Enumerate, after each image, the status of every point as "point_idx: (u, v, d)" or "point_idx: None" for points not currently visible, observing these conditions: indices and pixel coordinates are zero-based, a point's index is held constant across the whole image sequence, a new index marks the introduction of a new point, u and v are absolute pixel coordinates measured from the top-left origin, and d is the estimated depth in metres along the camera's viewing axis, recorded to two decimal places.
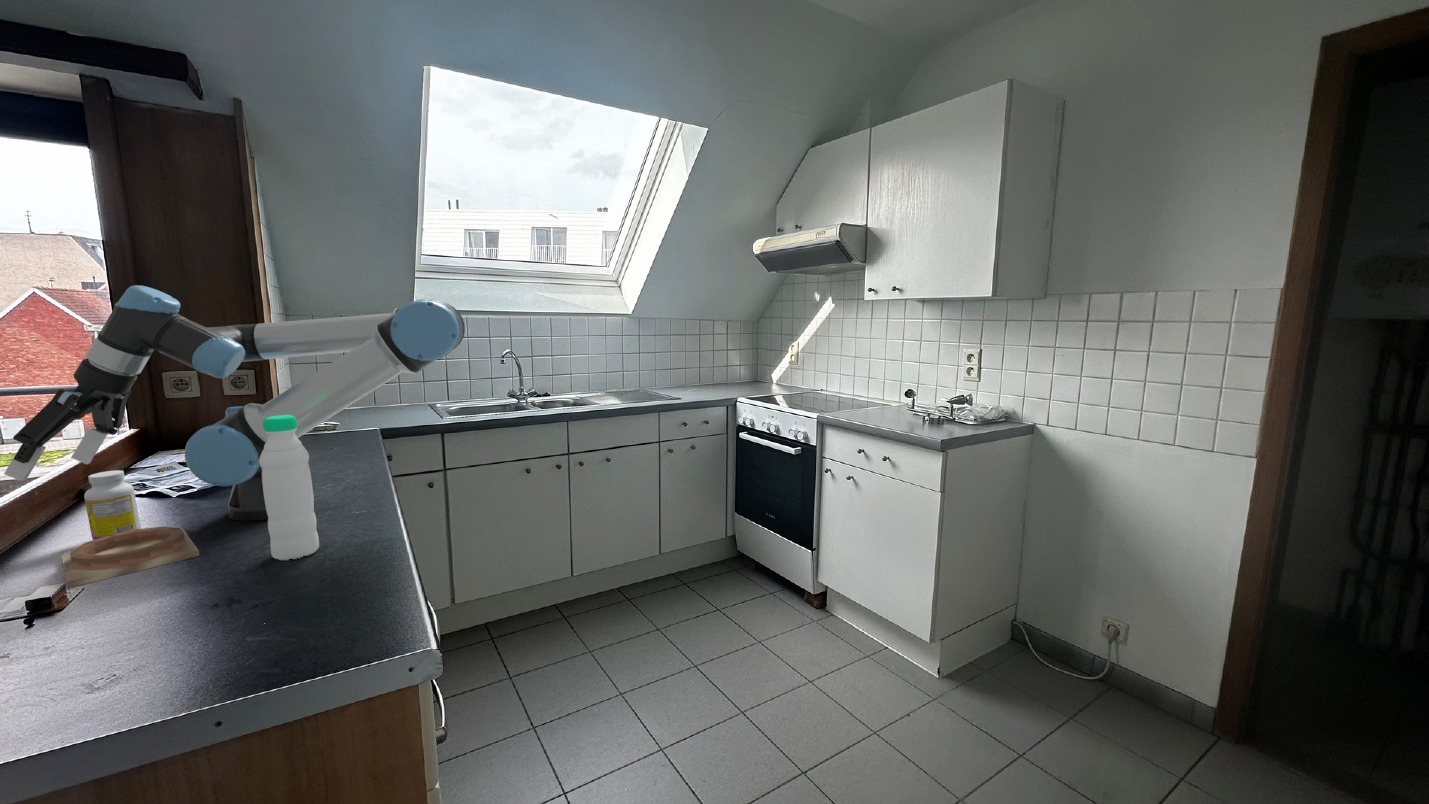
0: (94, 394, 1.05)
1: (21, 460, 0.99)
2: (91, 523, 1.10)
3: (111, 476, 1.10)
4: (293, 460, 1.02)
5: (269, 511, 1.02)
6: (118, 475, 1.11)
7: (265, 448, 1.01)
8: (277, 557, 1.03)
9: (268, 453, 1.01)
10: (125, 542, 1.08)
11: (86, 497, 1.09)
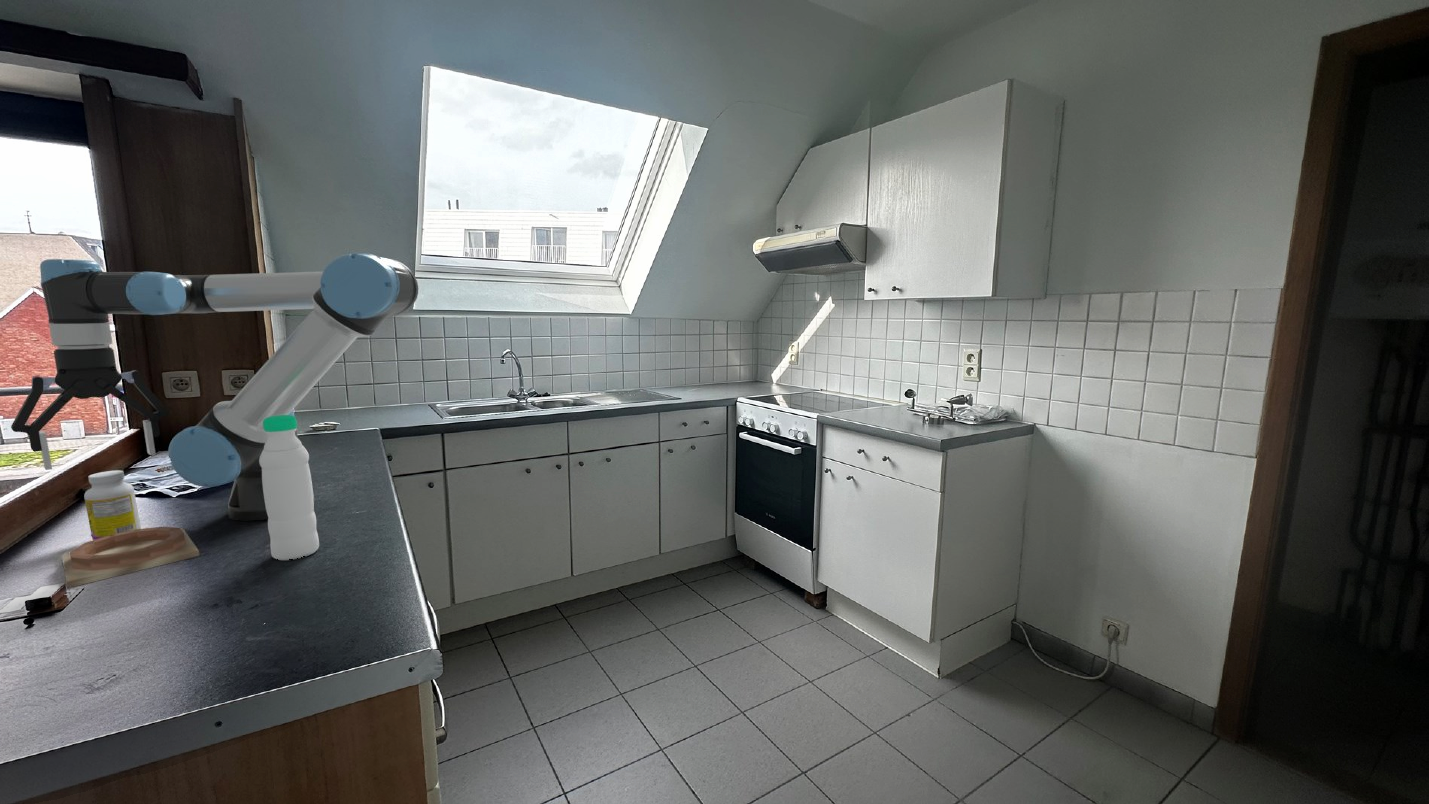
0: (71, 375, 1.06)
1: None
2: (91, 523, 1.10)
3: (111, 476, 1.10)
4: (293, 460, 1.02)
5: (269, 511, 1.02)
6: (118, 475, 1.11)
7: (265, 448, 1.01)
8: (277, 557, 1.03)
9: (268, 453, 1.01)
10: (125, 542, 1.08)
11: (86, 497, 1.09)
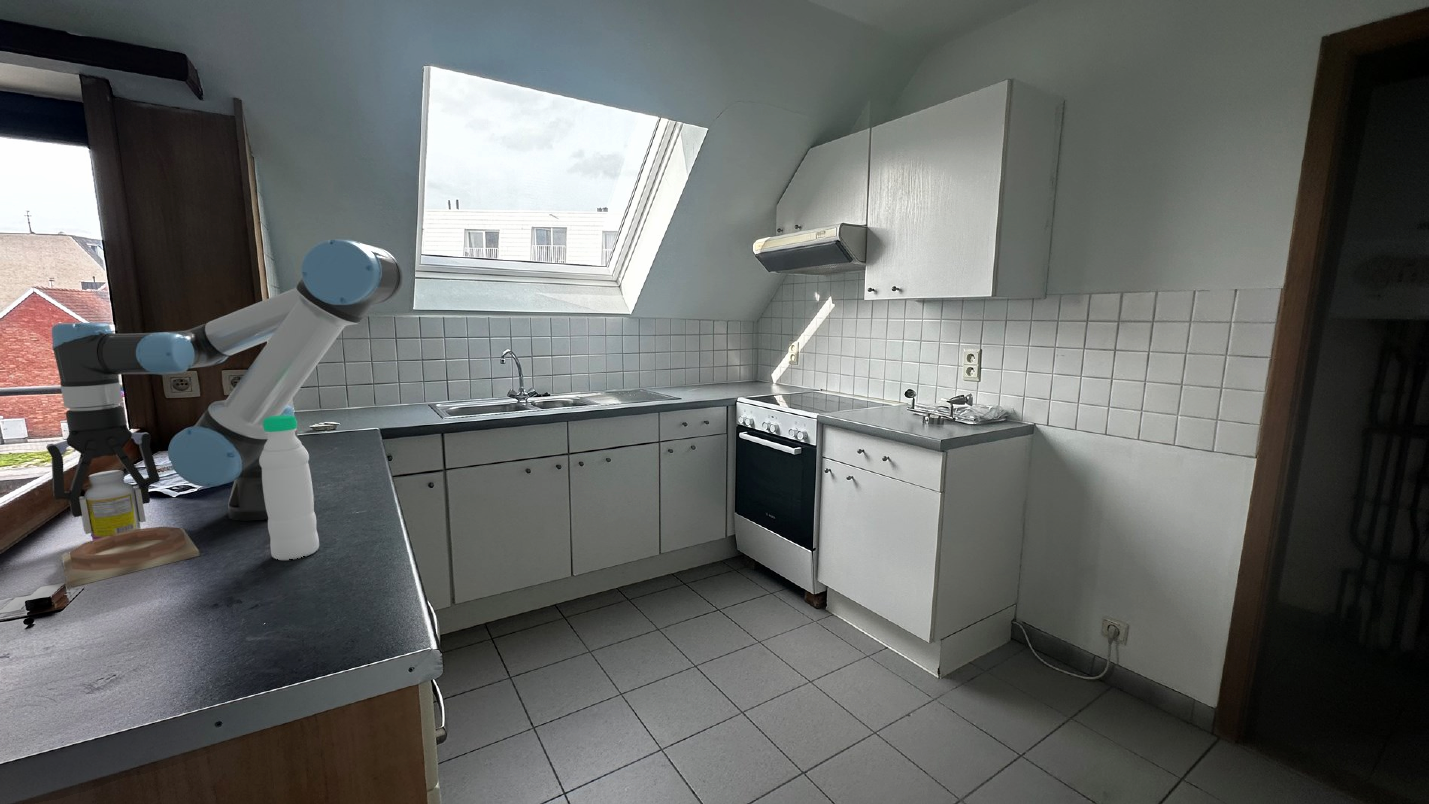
0: (80, 435, 1.08)
1: (72, 514, 1.08)
2: (91, 523, 1.10)
3: (111, 476, 1.11)
4: (293, 460, 1.02)
5: (269, 511, 1.02)
6: (118, 475, 1.12)
7: (265, 448, 1.01)
8: (277, 557, 1.03)
9: (268, 453, 1.01)
10: (125, 542, 1.08)
11: (86, 497, 1.09)
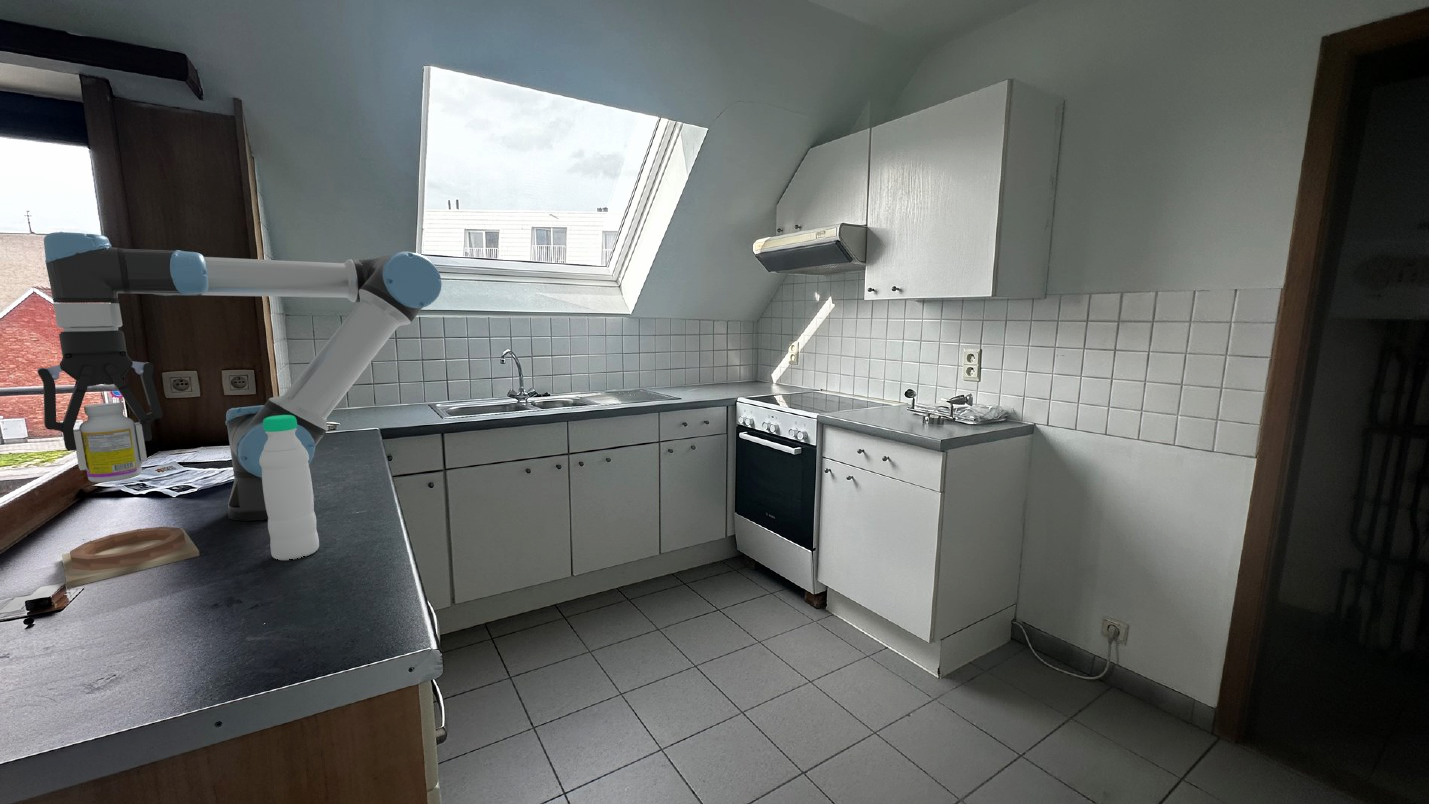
0: (74, 359, 0.97)
1: (66, 448, 0.98)
2: (86, 458, 0.99)
3: (109, 407, 1.00)
4: (293, 460, 1.02)
5: (269, 511, 1.02)
6: (117, 406, 1.01)
7: (265, 448, 1.01)
8: (277, 557, 1.03)
9: (268, 453, 1.01)
10: (125, 542, 1.08)
11: (81, 429, 0.98)
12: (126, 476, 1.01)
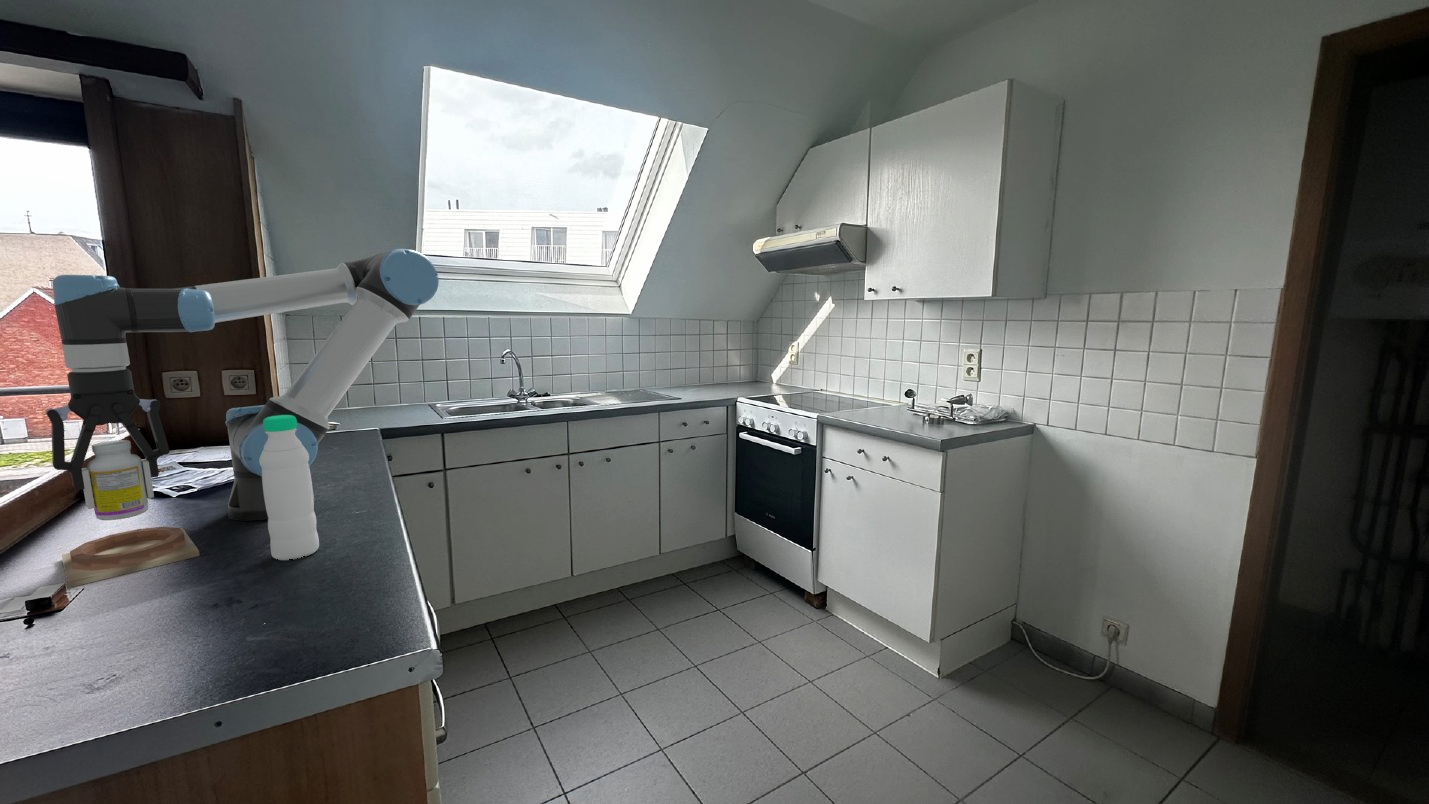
0: (83, 399, 0.98)
1: (74, 487, 0.98)
2: (94, 497, 1.00)
3: (117, 445, 1.00)
4: (293, 460, 1.02)
5: (269, 511, 1.02)
6: (124, 445, 1.01)
7: (265, 448, 1.01)
8: (277, 557, 1.03)
9: (268, 452, 1.01)
10: (125, 542, 1.08)
11: (89, 468, 0.99)
12: (134, 513, 1.02)
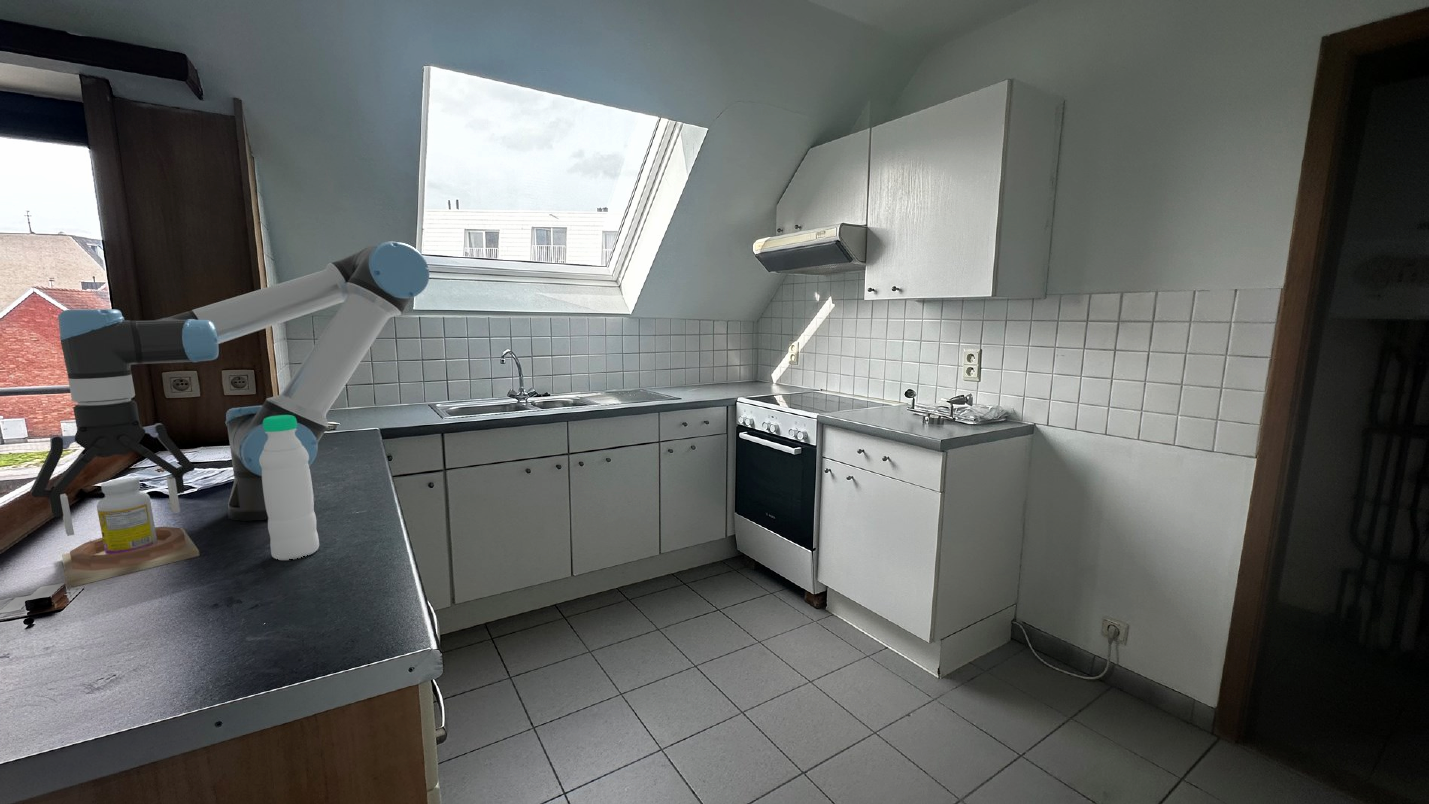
0: (92, 433, 0.99)
1: (52, 514, 0.97)
2: (104, 536, 1.01)
3: (126, 485, 1.02)
4: (293, 459, 1.02)
5: (269, 511, 1.02)
6: (133, 483, 1.03)
7: (265, 448, 1.01)
8: (277, 557, 1.03)
9: (268, 452, 1.01)
10: None
11: (99, 508, 1.00)
12: None
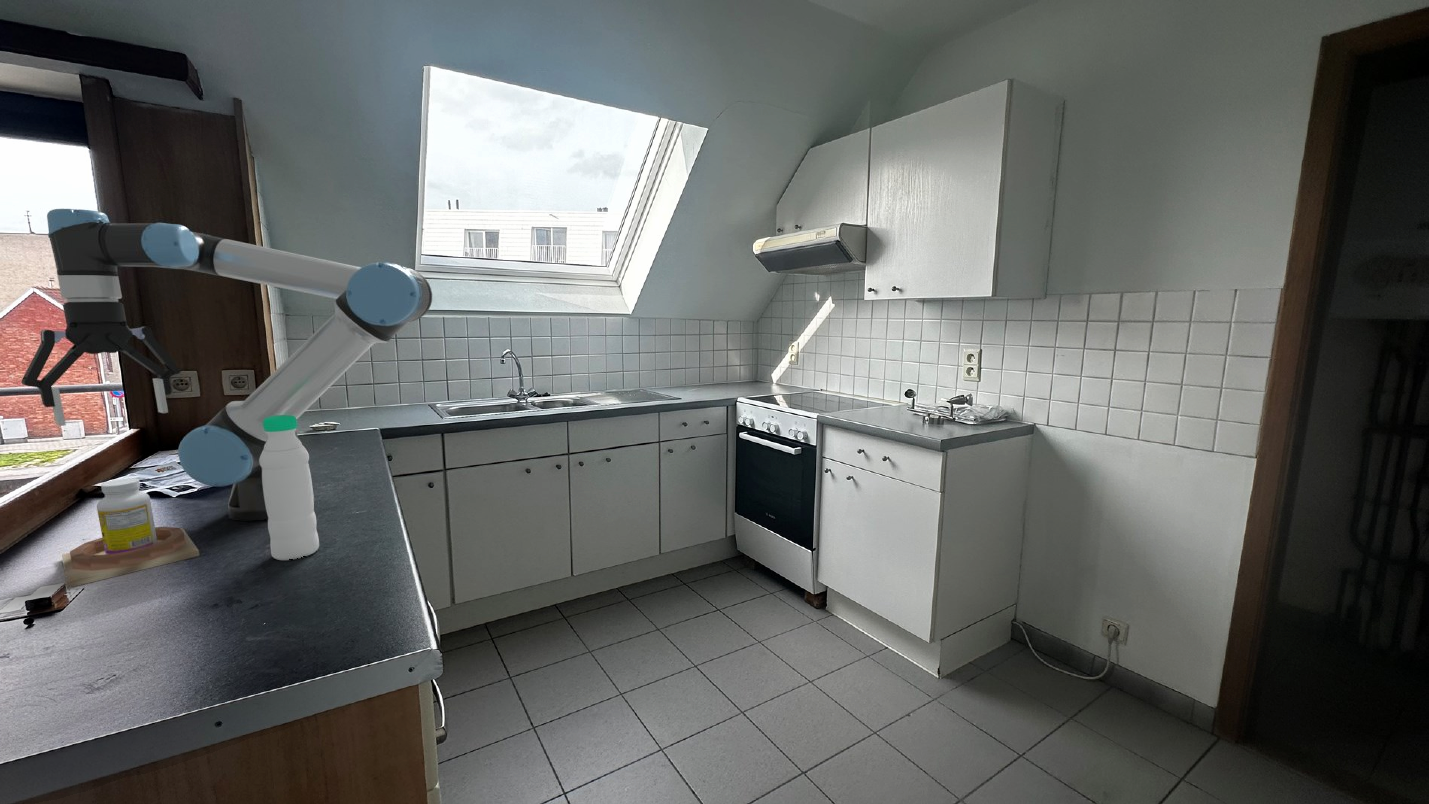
0: (82, 329, 1.04)
1: (44, 404, 1.01)
2: (104, 536, 1.01)
3: (126, 485, 1.02)
4: (293, 460, 1.02)
5: (269, 511, 1.02)
6: (133, 483, 1.03)
7: (265, 448, 1.01)
8: (277, 557, 1.03)
9: (268, 453, 1.01)
10: None
11: (99, 508, 1.00)
12: None
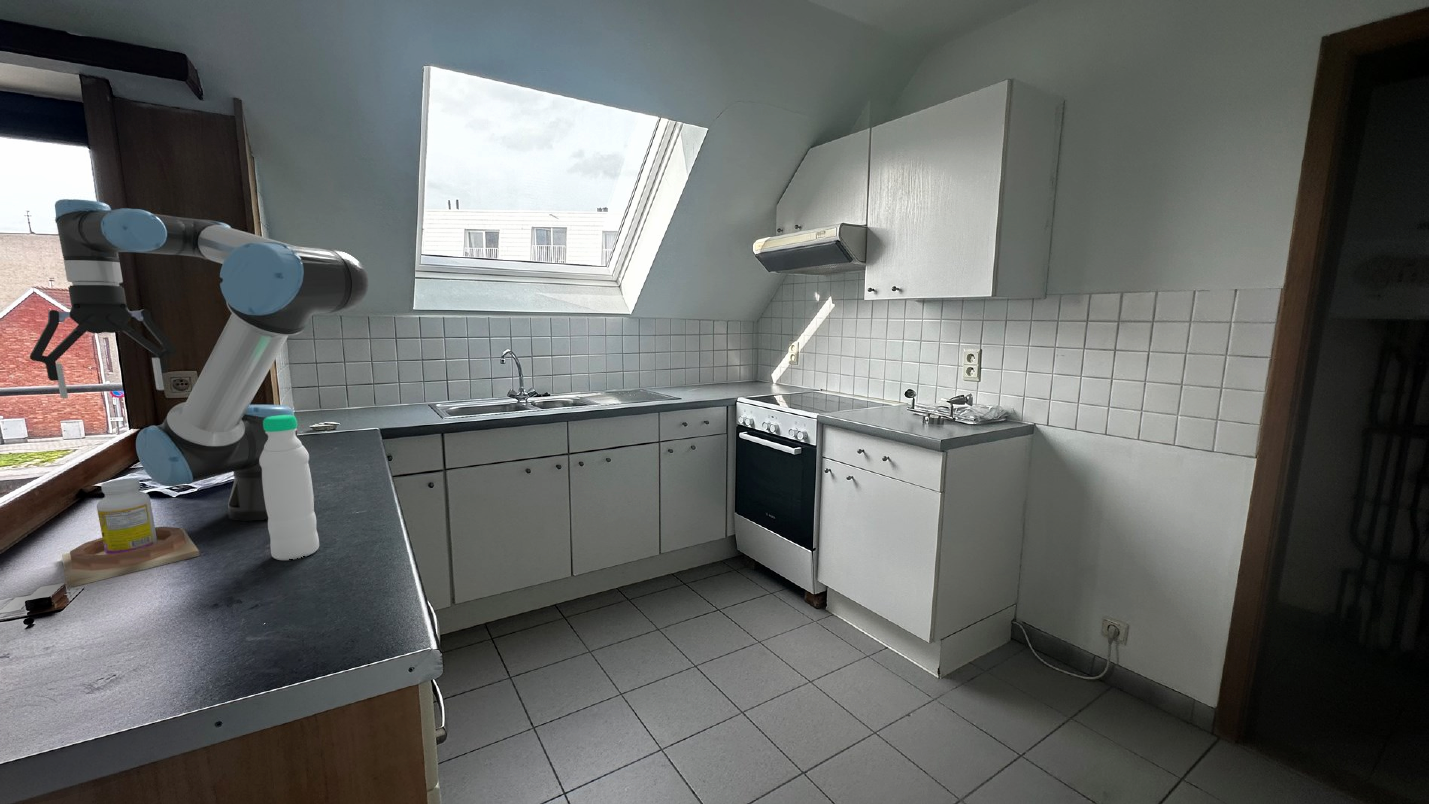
0: (85, 310, 1.13)
1: (49, 378, 1.11)
2: (104, 536, 1.01)
3: (126, 485, 1.02)
4: (293, 459, 1.02)
5: (269, 511, 1.02)
6: (133, 483, 1.03)
7: (265, 448, 1.01)
8: (277, 557, 1.03)
9: (268, 452, 1.01)
10: None
11: (99, 508, 1.00)
12: None
